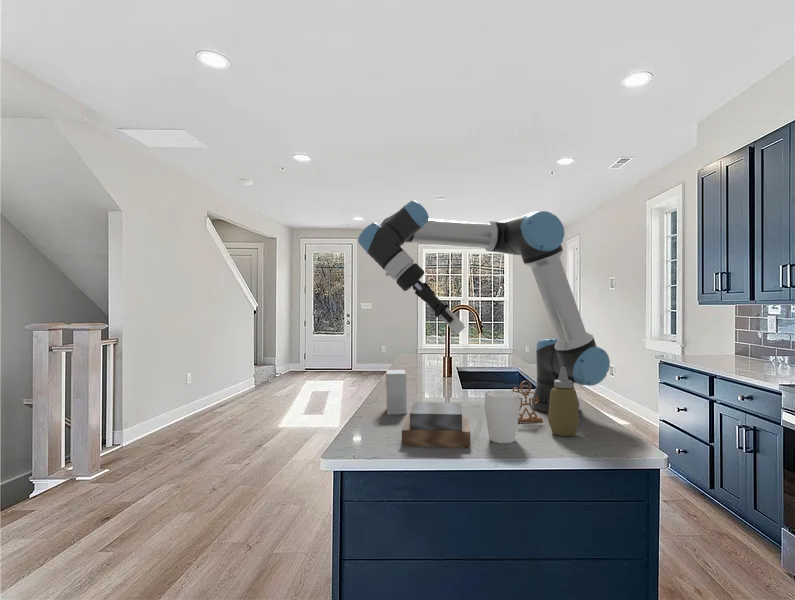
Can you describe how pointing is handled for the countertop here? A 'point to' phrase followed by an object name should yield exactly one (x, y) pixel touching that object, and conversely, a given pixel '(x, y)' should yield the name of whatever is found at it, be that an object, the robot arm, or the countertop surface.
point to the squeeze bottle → (563, 406)
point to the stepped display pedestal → (436, 426)
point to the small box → (396, 391)
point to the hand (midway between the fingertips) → (460, 329)
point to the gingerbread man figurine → (527, 418)
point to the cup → (502, 415)
